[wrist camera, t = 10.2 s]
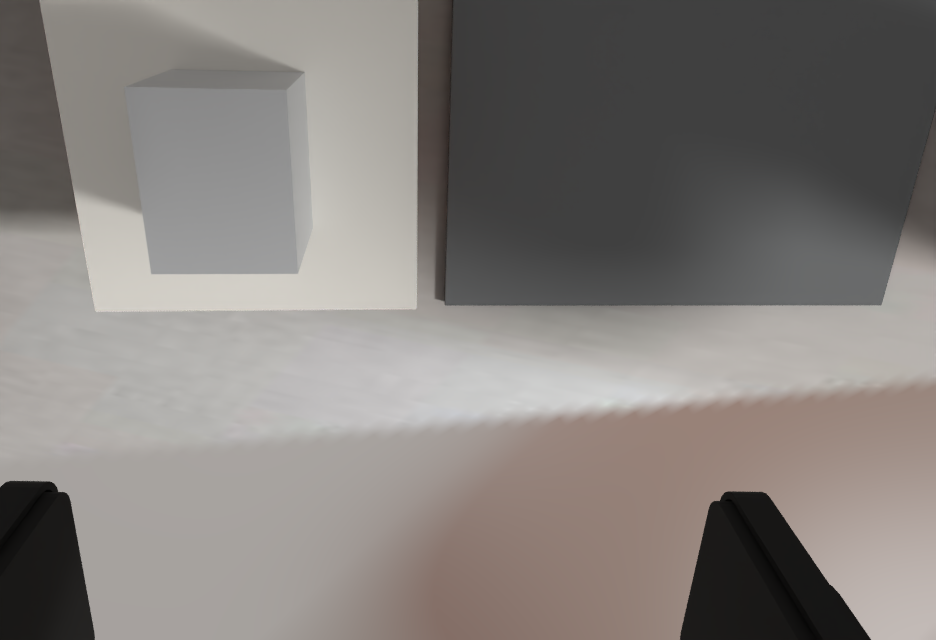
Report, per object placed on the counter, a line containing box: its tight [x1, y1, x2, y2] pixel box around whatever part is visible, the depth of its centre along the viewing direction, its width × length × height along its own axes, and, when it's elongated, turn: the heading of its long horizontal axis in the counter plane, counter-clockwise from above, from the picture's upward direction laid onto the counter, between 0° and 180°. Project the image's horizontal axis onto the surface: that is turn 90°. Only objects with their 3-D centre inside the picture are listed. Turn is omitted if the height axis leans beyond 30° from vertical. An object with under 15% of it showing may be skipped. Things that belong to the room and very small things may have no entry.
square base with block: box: [39, 0, 418, 312], centre depth 23 cm, size 11×11×5 cm
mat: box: [445, 0, 936, 305], centre depth 31 cm, size 20×15×1 cm
